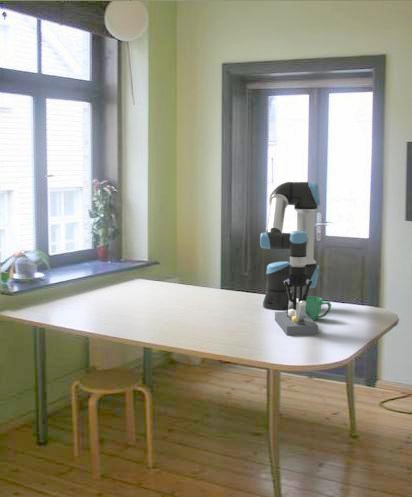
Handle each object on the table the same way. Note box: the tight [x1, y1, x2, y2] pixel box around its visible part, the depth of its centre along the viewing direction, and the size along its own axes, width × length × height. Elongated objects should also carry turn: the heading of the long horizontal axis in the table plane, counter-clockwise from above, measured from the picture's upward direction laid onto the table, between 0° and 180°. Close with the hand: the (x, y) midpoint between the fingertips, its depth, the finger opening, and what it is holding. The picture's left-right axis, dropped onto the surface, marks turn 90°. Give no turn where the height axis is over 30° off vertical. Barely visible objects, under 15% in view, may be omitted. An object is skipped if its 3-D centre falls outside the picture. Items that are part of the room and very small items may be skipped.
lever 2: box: [298, 300, 306, 323], centre depth 319 cm, size 3×3×11 cm
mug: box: [305, 296, 332, 321], centre depth 346 cm, size 15×10×10 cm
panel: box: [274, 310, 319, 336], centre depth 332 cm, size 28×14×4 cm, turn 6°
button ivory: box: [287, 309, 295, 318], centre depth 336 cm, size 5×5×4 cm
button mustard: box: [292, 316, 298, 322], centre depth 329 cm, size 5×5×4 cm
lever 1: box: [287, 290, 293, 311], centre depth 340 cm, size 3×3×11 cm
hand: (297, 316), depth 328 cm, fingers closed
